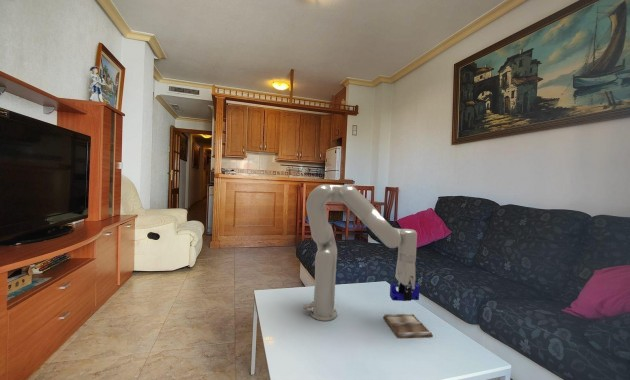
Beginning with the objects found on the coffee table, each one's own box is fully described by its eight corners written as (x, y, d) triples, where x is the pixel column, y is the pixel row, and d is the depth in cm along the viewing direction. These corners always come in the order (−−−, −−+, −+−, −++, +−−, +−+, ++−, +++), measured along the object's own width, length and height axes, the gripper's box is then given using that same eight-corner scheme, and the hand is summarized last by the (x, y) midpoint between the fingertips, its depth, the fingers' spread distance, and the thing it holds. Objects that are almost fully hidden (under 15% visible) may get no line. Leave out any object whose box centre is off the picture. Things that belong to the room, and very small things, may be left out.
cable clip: (392, 300, 114) (393, 286, 114) (389, 295, 119) (390, 282, 119) (420, 301, 114) (420, 288, 114) (416, 297, 119) (417, 284, 118)
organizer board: (397, 338, 105) (397, 333, 105) (383, 318, 120) (383, 314, 120) (432, 337, 107) (432, 332, 107) (414, 317, 122) (414, 313, 122)
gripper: (390, 251, 124) (388, 289, 125) (407, 263, 107) (405, 307, 108) (405, 251, 125) (403, 289, 126) (425, 263, 108) (422, 306, 109)
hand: (404, 297), depth 117 cm, fingers closed on cable clip, 4 cm apart
